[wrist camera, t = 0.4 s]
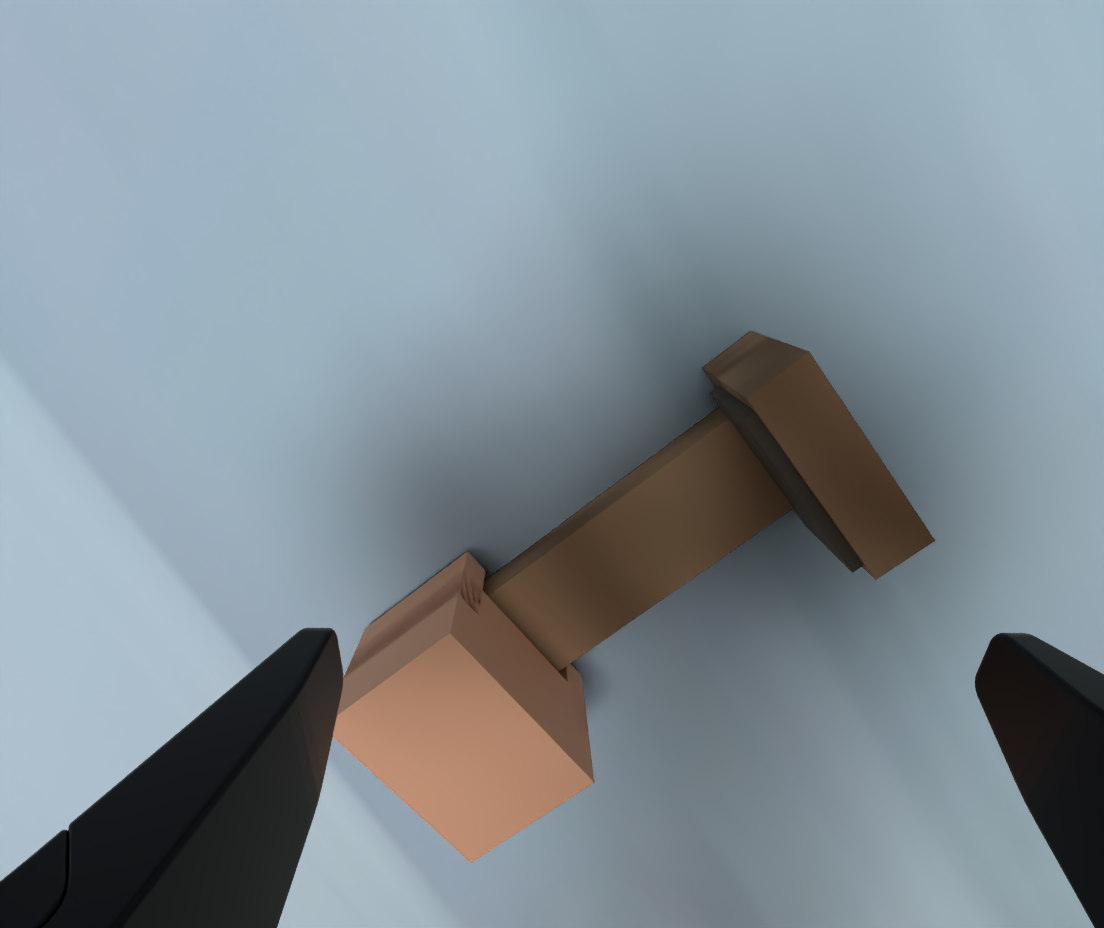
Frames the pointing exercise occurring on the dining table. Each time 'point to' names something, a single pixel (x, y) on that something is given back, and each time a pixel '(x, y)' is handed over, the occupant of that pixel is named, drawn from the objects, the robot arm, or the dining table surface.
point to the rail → (713, 504)
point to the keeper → (464, 714)
